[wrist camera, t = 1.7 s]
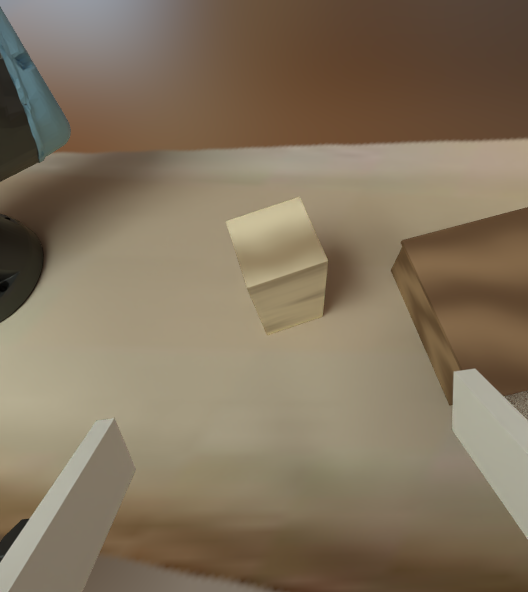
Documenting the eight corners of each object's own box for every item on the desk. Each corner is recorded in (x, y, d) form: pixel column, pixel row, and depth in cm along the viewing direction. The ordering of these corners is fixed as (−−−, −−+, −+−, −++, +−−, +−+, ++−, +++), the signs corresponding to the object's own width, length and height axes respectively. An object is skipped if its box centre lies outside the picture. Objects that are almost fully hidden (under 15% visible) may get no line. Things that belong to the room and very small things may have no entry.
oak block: (250, 285, 37) (225, 221, 26) (302, 267, 37) (299, 196, 26) (267, 335, 35) (246, 288, 24) (322, 316, 35) (328, 260, 24)
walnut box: (387, 270, 36) (401, 240, 30) (502, 240, 36) (537, 204, 30) (447, 408, 30) (477, 402, 25) (584, 374, 30) (646, 360, 24)
